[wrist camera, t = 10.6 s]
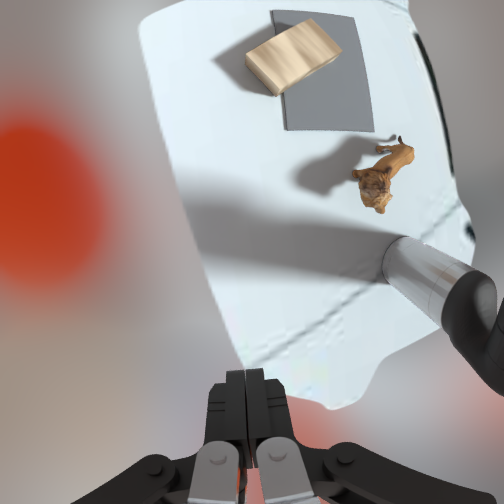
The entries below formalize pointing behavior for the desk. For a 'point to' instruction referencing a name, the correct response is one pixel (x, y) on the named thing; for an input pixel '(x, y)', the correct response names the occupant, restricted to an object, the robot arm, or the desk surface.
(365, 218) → the desk surface
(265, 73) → the birch block
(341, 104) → the slate mat
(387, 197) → the lion figurine
